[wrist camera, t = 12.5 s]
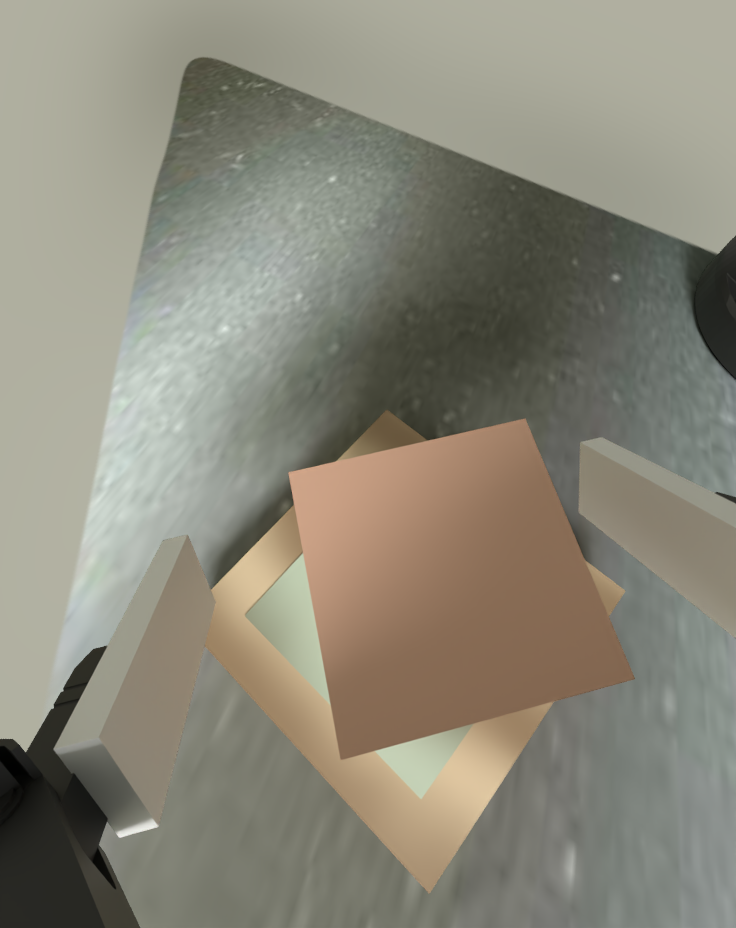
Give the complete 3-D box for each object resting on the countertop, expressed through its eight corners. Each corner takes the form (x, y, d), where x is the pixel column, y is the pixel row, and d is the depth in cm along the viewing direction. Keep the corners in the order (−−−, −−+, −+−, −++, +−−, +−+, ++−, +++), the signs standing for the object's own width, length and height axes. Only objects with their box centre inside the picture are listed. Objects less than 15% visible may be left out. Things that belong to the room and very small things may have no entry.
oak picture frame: (385, 433, 26) (386, 408, 23) (593, 596, 22) (626, 590, 19) (206, 621, 22) (180, 620, 19) (421, 854, 18) (429, 895, 15)
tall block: (442, 538, 20) (525, 418, 9) (477, 651, 18) (635, 679, 7) (338, 563, 20) (288, 472, 9) (363, 682, 18) (340, 760, 7)
